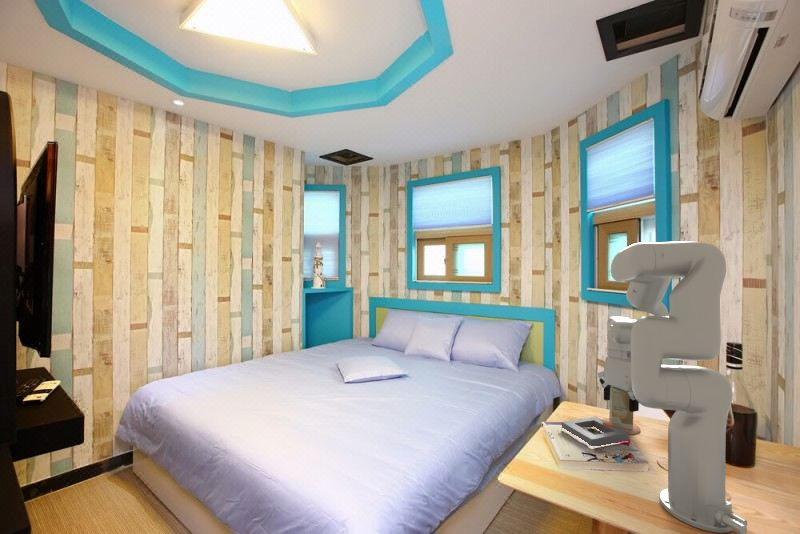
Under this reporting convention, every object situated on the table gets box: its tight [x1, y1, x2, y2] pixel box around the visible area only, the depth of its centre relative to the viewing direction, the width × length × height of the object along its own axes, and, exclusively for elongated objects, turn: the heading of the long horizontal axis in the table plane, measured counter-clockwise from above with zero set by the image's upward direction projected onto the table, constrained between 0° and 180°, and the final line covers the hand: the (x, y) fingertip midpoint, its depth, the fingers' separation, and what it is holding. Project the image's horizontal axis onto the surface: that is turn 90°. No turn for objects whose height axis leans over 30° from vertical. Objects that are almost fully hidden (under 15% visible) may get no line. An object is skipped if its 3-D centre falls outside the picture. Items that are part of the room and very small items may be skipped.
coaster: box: [602, 417, 641, 436], centre depth 116 cm, size 11×11×1 cm
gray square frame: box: [561, 416, 630, 446], centre depth 109 cm, size 12×14×4 cm
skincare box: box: [608, 386, 634, 430], centre depth 115 cm, size 6×4×12 cm
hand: (620, 405), depth 115 cm, fingers open, 9 cm apart
